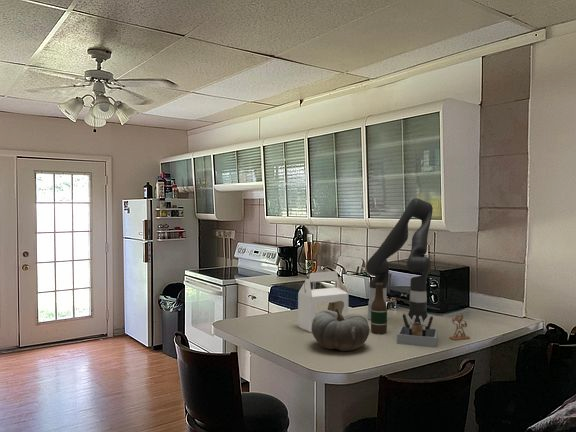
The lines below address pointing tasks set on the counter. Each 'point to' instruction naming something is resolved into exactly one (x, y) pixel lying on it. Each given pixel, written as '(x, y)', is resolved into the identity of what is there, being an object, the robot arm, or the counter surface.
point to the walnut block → (417, 329)
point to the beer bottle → (379, 312)
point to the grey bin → (417, 337)
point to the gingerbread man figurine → (460, 337)
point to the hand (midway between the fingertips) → (417, 337)
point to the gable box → (320, 298)
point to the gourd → (340, 330)
